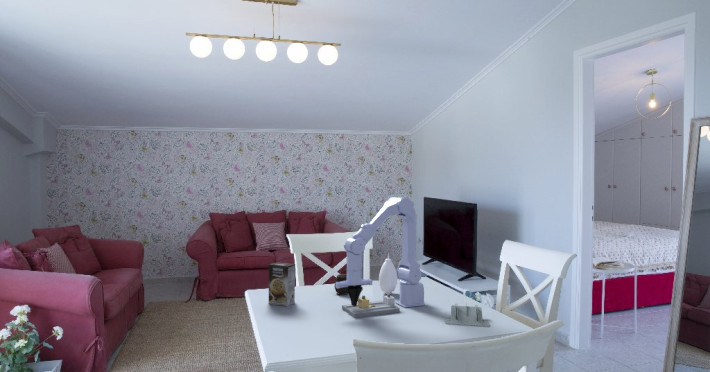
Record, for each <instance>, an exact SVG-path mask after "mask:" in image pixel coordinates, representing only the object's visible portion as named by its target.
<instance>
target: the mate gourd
mask: <svg viewBox="0 0 710 372" xmlns="http://www.w3.org/2000/svg"><path fill="white" fill-rule="evenodd" d="M346 280H347V273H346V274H344V273H342V274H341V273H340V274H337V275H336V281H335V283H334V285H335V284H336V282H341V281H346ZM334 289H335V292H336V294H338V295H349V294H348V291H347V289H346V287H343V288H338V289H337V288H336V287H335V286H334Z"/></svg>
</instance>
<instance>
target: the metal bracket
mask: <svg viewBox="0 0 710 372" xmlns="http://www.w3.org/2000/svg"><path fill="white" fill-rule="evenodd" d="M467 305H468V304H467V302H465V305H457V303H455V304H454V305H453V304H452V305H450V308H451V309H450V319H449V318H446V319H445V321H444V324H445V325H449V326H469V327H479V328H489V327H490V323H489V321H485V320H483V311H482V310H483V309H482V306H477V304H475V306H470V305H468V306H467Z"/></svg>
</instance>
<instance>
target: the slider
mask: <svg viewBox="0 0 710 372" xmlns="http://www.w3.org/2000/svg"><path fill="white" fill-rule="evenodd" d="M369 302H370V299H369V298H367V297H366V296H365V295H362V296H361V297H359V298H358V302H357V304H358V306H359V307H361V308H369Z"/></svg>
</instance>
